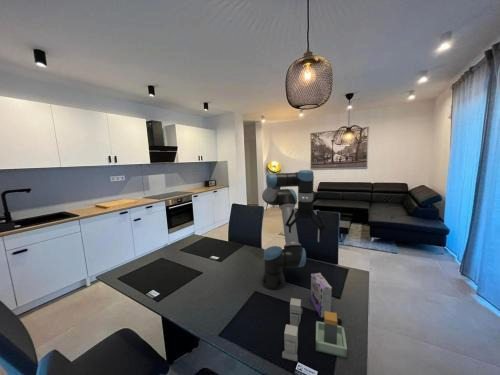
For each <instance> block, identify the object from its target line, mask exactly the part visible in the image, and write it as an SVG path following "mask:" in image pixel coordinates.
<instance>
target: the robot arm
mask: <svg viewBox="0 0 500 375" xmlns="http://www.w3.org/2000/svg"><path fill="white" fill-rule="evenodd" d="M314 175H315V174H314V170H312V169H311V170H310V169H300V170H299V171H296V172H285V173H284V172H283V173H282V172H281V173H268V174H266V177H265V178H266V179H265V182H266V188H265V189H264V190H263V191H262V194H261V197H262V200H263V201H264V202H265V203H266V204H268V205H270V206H278V208H279V210H281V218H282V226H283V232H284V240H285V244H284V246H283V248H282V247H281V246H277V245H275V246H274V245H273V246H269V247H267V248H266V249H264V251H263V252H264V253H263V262H264V264H263V266H264V267H263V269H264V271H263V275H262V278H261V284H262V286H263V287H264V288H266V289H269V290H272V291H273V290H275V291H276V290H280V289H282V288H284V287H285V285H286V279H285V275H284V273H283V269H291V268H294V269H295V268H297V269H298V268H302V267H304V266H305V265H306V263H307V262H306V261H307V252H306V249H305V248H304V247H302V244H301V243H300V242H299V236H298V231H297V221H298V220H299V219H300V218H301V219H307V220H308V219H310V220H311V221H312V222H313V223H314V225H315V226H316V227H317V242H318V243H320V236H322V234H323V230H325V229H326V227H327V226H326V224H325V222H324V220H323V218H322V216H321V214H320V210H319V209H316V210H314V178H315V176H314ZM287 187H291V188H287ZM293 187H297V193H296V192H295V190H294V189H293ZM281 188H282V189H281ZM296 205H297V209H295V207H296ZM296 213H297V214H298V215H297V216H295V214H296ZM314 214H315V215H316V217H317V218H318V221H317V219H316V218H315V217H314ZM319 222H320V223H319Z"/></svg>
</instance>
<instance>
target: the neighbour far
mask: <svg viewBox="0 0 500 375" xmlns="http://www.w3.org/2000/svg"><path fill="white" fill-rule="evenodd" d="M289 302H290V303H289V315H290V314H291V311H295V312H299V324H300V323H301V321H302V320H301V317H302V314H301V308H302V299H299V298H294V297H291V298H290V301H289Z"/></svg>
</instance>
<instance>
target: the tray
mask: <svg viewBox="0 0 500 375" xmlns="http://www.w3.org/2000/svg"><path fill="white" fill-rule="evenodd" d="M347 346H348V345H347V339H346V333H345V326H343V325H339V324H337V345H335V344H330V343H326V342H324V321H318V320H316V321H315V351H316V352H320V353H324V354H328V355H333V356H336V357H339V358H345V359H347V358H348V347H347Z"/></svg>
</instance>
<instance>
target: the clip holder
mask: <svg viewBox="0 0 500 375" xmlns="http://www.w3.org/2000/svg"><path fill="white" fill-rule="evenodd" d="M302 314H303V308H302V307H301V315H302ZM287 325H292V326H297V327H298V329H300V328H299V326H300V323H299V312H295V311H291V314H290V313H289V324H287ZM281 354H282V355H281V358H282V359H285V360H289V361H293V362H297V363H298V354H297V355H296V354H295V343H292V342H288V341H285V351H284V350H283V351H282V352H281Z"/></svg>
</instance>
